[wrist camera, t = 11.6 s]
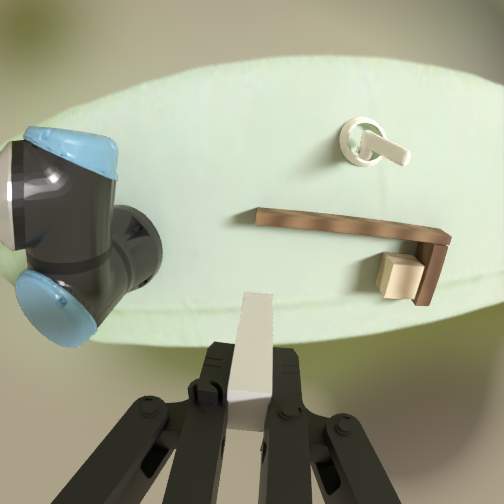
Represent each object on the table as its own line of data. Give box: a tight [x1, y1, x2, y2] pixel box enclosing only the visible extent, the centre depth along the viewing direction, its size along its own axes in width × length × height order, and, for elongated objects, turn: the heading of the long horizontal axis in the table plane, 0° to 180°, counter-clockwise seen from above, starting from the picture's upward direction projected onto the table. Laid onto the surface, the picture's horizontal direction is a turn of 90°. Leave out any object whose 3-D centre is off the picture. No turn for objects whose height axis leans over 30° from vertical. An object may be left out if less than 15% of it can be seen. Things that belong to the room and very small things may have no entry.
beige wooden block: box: [375, 252, 424, 299], centre depth 42 cm, size 6×6×5 cm
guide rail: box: [256, 207, 452, 306], centre depth 42 cm, size 32×12×5 cm, turn 86°
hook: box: [339, 117, 411, 167], centre depth 34 cm, size 8×12×7 cm
